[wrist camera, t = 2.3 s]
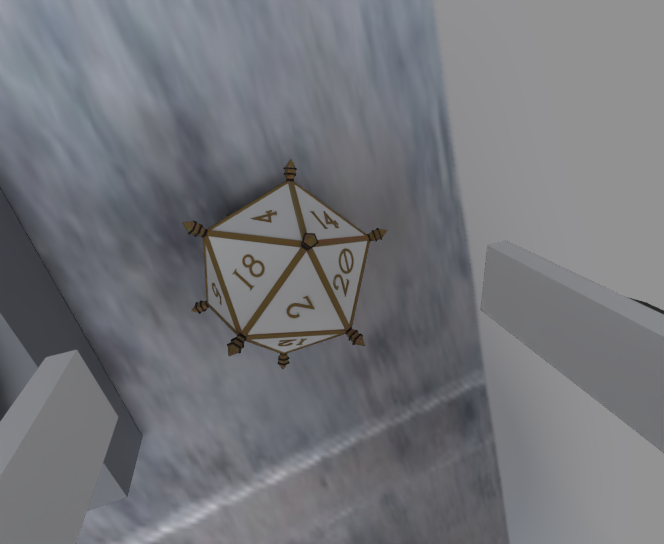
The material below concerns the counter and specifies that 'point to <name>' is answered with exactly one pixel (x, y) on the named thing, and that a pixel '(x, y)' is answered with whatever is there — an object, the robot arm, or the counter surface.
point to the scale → (52, 348)
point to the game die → (284, 270)
